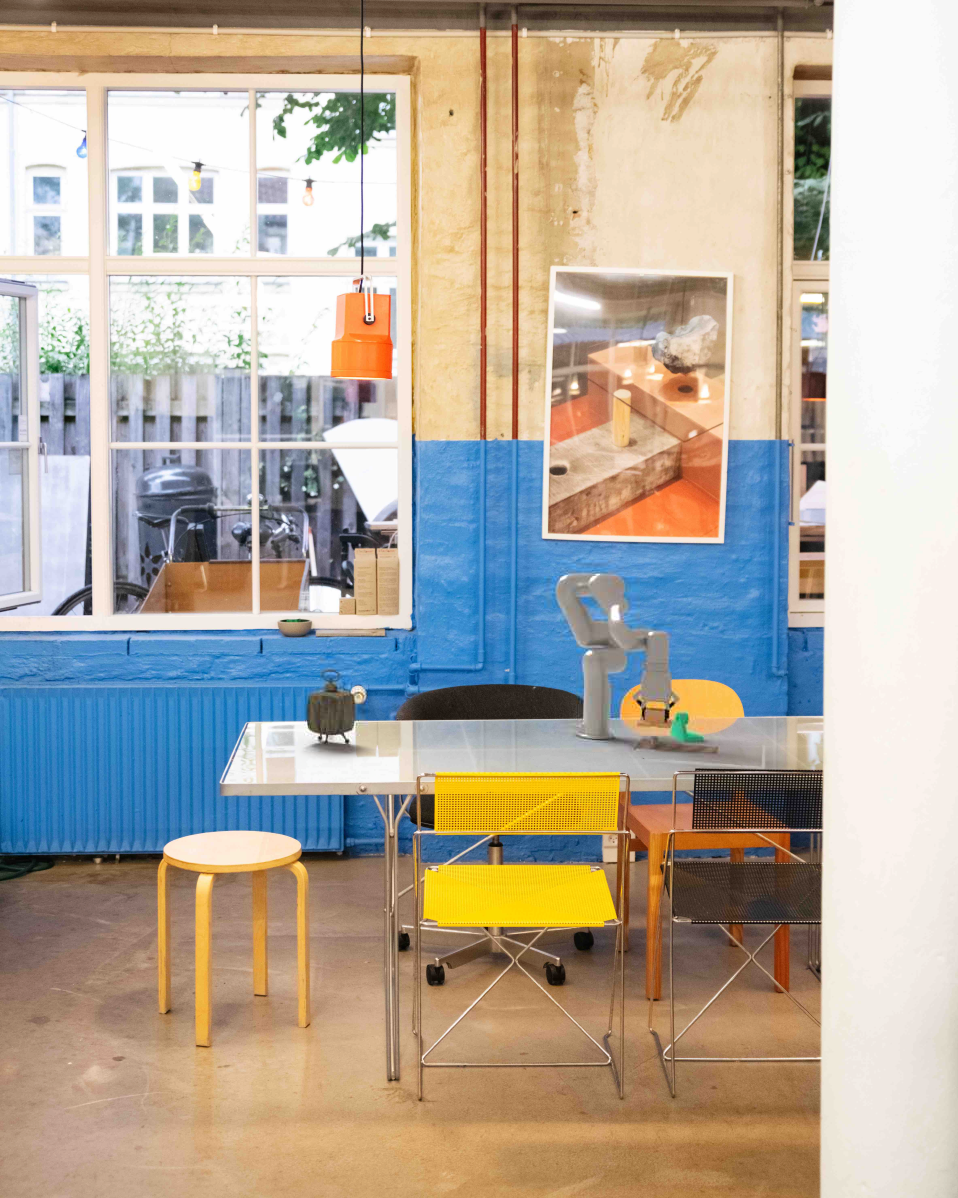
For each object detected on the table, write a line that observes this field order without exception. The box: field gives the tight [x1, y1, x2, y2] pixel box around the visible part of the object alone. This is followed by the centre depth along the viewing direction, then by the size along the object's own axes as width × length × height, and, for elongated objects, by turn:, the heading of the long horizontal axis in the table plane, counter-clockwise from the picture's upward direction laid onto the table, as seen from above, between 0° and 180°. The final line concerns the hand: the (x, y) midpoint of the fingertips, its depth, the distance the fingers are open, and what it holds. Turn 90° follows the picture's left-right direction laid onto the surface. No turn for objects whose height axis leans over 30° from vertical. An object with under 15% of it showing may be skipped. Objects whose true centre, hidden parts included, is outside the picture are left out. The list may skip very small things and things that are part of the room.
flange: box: [636, 706, 674, 729], centre depth 388 cm, size 11×11×5 cm
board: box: [633, 736, 719, 755], centre depth 387 cm, size 27×12×4 cm, turn 76°
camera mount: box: [669, 711, 704, 742], centre depth 405 cm, size 12×8×10 cm, turn 13°
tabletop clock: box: [306, 668, 356, 745], centre depth 383 cm, size 14×9×25 cm, turn 65°
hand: (655, 719), depth 388 cm, fingers closed on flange, 6 cm apart
